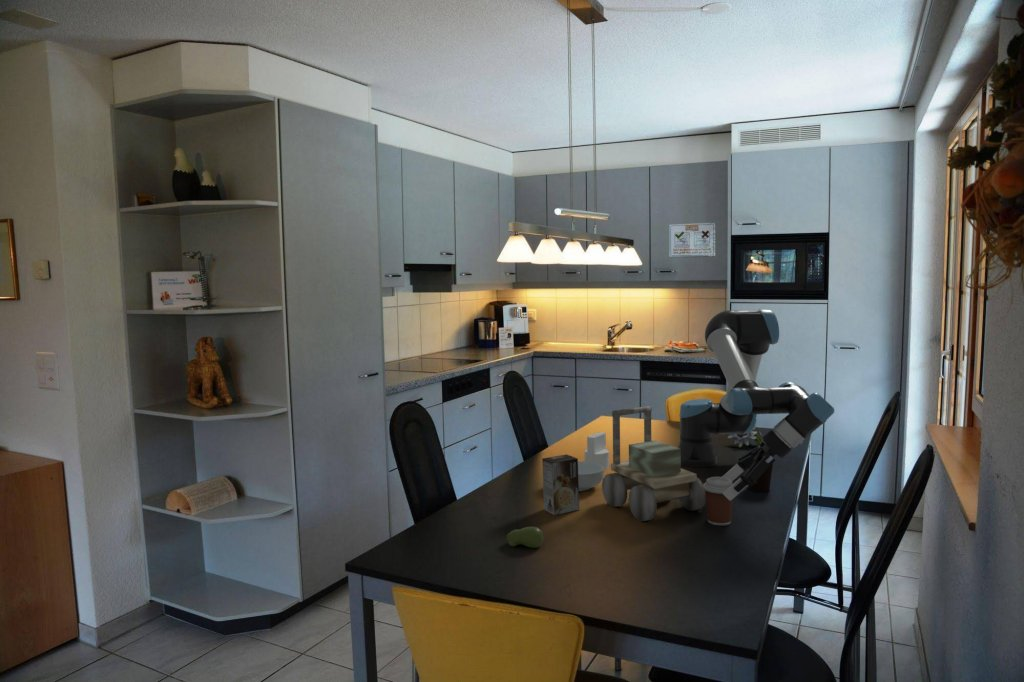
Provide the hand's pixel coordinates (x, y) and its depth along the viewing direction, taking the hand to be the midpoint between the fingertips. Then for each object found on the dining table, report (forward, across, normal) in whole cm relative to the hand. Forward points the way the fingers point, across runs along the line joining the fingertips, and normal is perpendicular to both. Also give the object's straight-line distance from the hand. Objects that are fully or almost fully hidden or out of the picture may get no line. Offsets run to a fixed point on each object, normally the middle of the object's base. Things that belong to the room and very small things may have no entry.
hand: (724, 489), depth 189 cm
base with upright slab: (+37, +50, +23) cm, 66 cm away
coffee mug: (-2, +34, -16) cm, 38 cm away
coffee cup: (+8, 0, -6) cm, 10 cm away
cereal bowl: (+39, +24, +25) cm, 52 cm away
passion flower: (-2, +91, -16) cm, 92 cm away
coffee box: (+40, +1, +27) cm, 48 cm away
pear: (+43, -27, +30) cm, 59 cm away
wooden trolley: (+21, +8, +8) cm, 24 cm away
